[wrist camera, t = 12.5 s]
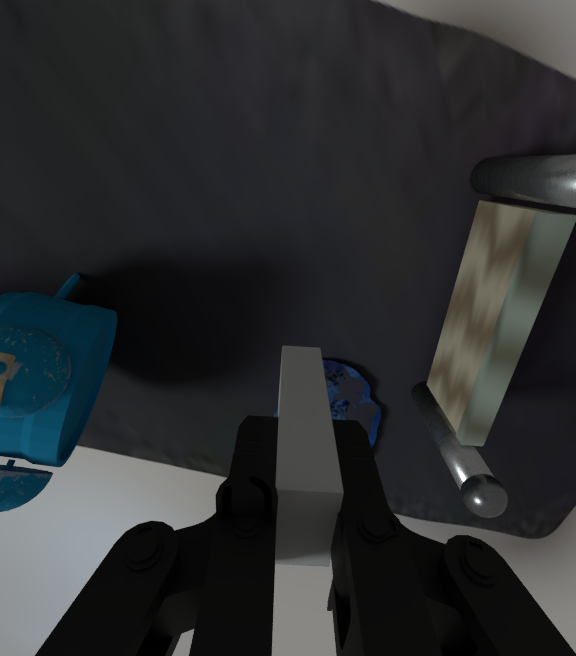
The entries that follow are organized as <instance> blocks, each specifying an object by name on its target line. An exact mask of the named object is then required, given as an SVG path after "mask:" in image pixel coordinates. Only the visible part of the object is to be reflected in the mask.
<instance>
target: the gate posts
mask: <svg viewBox="0 0 576 656" xmlns="http://www.w3.org/2000/svg"><path fill="white" fill-rule="evenodd" d="M470 184H471V187H472V189H473V190H474V191H475V192H477V193H480V194H487V195H493V196H500V197H507V198H513V199H520V200H526V201H533V202H540V203H546V204H553V205H559V206H566V207H573V208H576V155H550V156H522V157H494V158H486V159H483V160H482V161H480V162H479V163H478V164H477V165H476V166H475V167H474V169H473V170H472V173H471V176H470ZM411 396H412V398H413V400H414V402H415V404H416V406H417V408H418V410H419V412H420V414H421V416H422V417H423V419H424V421H425V423H426V425H427V427H428V429H429V431H430V433H431V435H432V437H433V439H434V440H435V442H436V444H437V446H438V448H439V450H440V452H441V454H442V456H443V458H444V460H445V462H446V464H447V465H448V467H449V469H450V471H451V473H452V475H453V477H454V479H455V481H456V483H457V485H458V487H459V488H460V490H461V496H462V499H463V501H464V503H465V505H466V506H467V507H468V508H469V509H470V510H471V511H472V512H473V513H475V514H477V515H479V516H482V517H486V518H492V517H496V516H499V515H500V514H501V513H503V512H504V510H505V509H506V506H507V493H506V491H505V489H504V487H503V485H502V484H501V483H500V482H499V481H498V480H497V479H496V478H494V476H493V475H492V473H491V471H490V470H489V468H488V467H487V465H486V464H485V462H484V461H483V459H482V458H481V456H480V455H479V453H478V452H477V450H476V448H475V447H474V446H472V445H461V444H460V442H459V440H458V439H457V437H456V431H455V430H454V428H453V426H452V425H451V423H450V422H449V420H448V418H447V417H446V415H445V413H444V412H443V410H442V409H441V407H440V405H439V404H438V402H437V401H436V399H435V397H434V396H433V394H432V392H431V391H430V389H429V388H428V386H427V382H421V383H419V384H417V385H415V386H414V387H413V389H412V391H411Z"/></svg>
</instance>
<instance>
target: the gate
mask: <svg viewBox="0 0 576 656" xmlns="http://www.w3.org/2000/svg"><path fill="white" fill-rule="evenodd" d="M575 222H576V215H572V214H566V213H558V212H553V211H547V210H541V209H536V208H530V207H525V206H519V205H513V204H508V203H502V202H497V201H483V200H479V203H478V207H477V210H476V214H475V217H474V221H473V224H472V228H471V231H470V235H469V238H468V242H467V245H466V249H465V252H464V256H463V259H462V263H461V266H460V270H459V273H458V277H457V280H456V284H455V287H454V291H453V294H452V297H451V301H450V304H449V308H448V311H447V315H446V318H445V322H444V325H443V329H442V332H441V336H440V339H439V343H438V346H437V350H436V353H435V357H434V360H433V364H432V367H431V371H430V374H429V378H428V381H427V386H428V388H429V389H430V391H431V392H432V394H433V396H434V397H435V399H436V401H437V402H438V404H439V405H440V407H441V409H442V410H443V412H444V413H445V415H446V417H447V418H448V420H449V422H450V423H451V425H452V426H453V428H454V430H455V431H456V437H457V439H458V440H459V442H460V444H461V445H472V446H483V445H484V443H485V440H486V438H487V435H488V433H489V431H490V428H491V426H492V423H493V421H494V418H495V416H496V414H497V411H498V409H499V406H500V404H501V402H502V399H503V397H504V394H505V392H506V389H507V387H508V385H509V382H510V380H511V377H512V375H513V372H514V370H515V368H516V365H517V363H518V360H519V358H520V355H521V353H522V351H523V348H524V346H525V343H526V341H527V338H528V336H529V334H530V331H531V329H532V326H533V324H534V321H535V319H536V317H537V314H538V312H539V309H540V307H541V304H542V302H543V300H544V297H545V295H546V292H547V290H548V287H549V285H550V283H551V280H552V278H553V275H554V273H555V270H556V268H557V266H558V263H559V261H560V258H561V256H562V253H563V251H564V249H565V246H566V244H567V241H568V239H569V236H570V234H571V232H572V229H573V227H574V224H575Z"/></svg>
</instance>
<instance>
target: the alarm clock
mask: <svg viewBox="0 0 576 656" xmlns="http://www.w3.org/2000/svg"><path fill="white" fill-rule="evenodd" d="M79 278H80V276H79V275H78V274H74V275H73V276H72V277H71V278H69V279H68V280H67V282H66V283H65V284H64V285H63V286H62V288H61V289H60V290H59V291H58V293H57V294H56V295H55V296H54V297H52V296H48V295H44V294H40V293H36V292H26V293H19V292H8V293H4V294H2V295H0V456H4V457H12V458H20V459H25V460H27V461H29V462H30V463H32V464H39V465H46V466H54V467H61V466H63V465H64V464H65V463H66V461H67V460H68V459H69V457H70V455H71V454H72V452H73V450H74V449H75V447H76V445H77V443H78V441H79V439H80V437H81V435H82V433H83V430H84V428H85V426H86V424H87V421H88V419H89V417H90V414H91V412H92V409H93V406H94V404H95V401H96V399H97V396H98V393H99V390H100V387H101V384H102V382H103V379H104V375H105V372H106V369H107V366H108V362H109V359H110V355H111V351H112V347H113V343H114V338H115V334H116V327H117V313H116V311H113V310H110V309H106V308H102V307H99V306H95V305H81V304H77V303H74V302H70V301H66V300H64V299H65V298H66V297H67V295H68V294H69V293H70V292H71V290H72V289H73V288H74V286H75V285H76V284H77V282H78V280H79ZM14 463H15V460H9V461H8V463H7V465H0V512H3V511H8V510H11V509H14V508H17V507H19V506H21V505H23V504H25V503H27V502H29V501H30V500H31V499H33V498H34V497H36V496H37V495H38V494H39V493H40V492H41V491H42V490H43V489H44V488H45V486H46V485H47V483H48V482H49V481H50V479H51V476H52V475H53V473H52V472H48V471H43V470H38V469H31V468H24V467H16V466H13V465H14Z"/></svg>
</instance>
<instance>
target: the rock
mask: <svg viewBox="0 0 576 656" xmlns="http://www.w3.org/2000/svg"><path fill="white" fill-rule="evenodd" d="M322 362H323V368H324V374H325V380H326V387H327V393H328V399H329V405H330V411H331V417H332V419H337V420H341V418H342V416H343V414H342V413H343V412H344V413H345V414H346V409H347V406H348V405H349V403H348V402H347V401H346V400H345V398H344V399H342V400H341V401H340V402H338V400H333V399H334V398H335V396H336V395H337V394H339V393H340V391H339V392H337V390H336V389H337V385H338V378H341V377H342V375H343V374H342V369H344V368H345V369H347V370H348V371H349V373H350V375H351V376H352V377H354V378H358V379H363V380H365V379H364V378H363V377H362V376H360V374H359V373H358V372H357V371H356V370H354V369H353V368H350V367H348V366H347V365H344V364H340V363H337V362H334V361H330V360H328V361H326V360H322ZM344 379H346V378H344ZM335 380H336V381H335ZM365 381H366V380H365ZM333 383H334V384H333ZM357 394H359V393H357ZM369 395H370V386H369V384H368V383H367V381H366V386H365V387H364V390H363V392H362V398H361V399H360V401H359V402H360V403H364V402H368V403H375V402H374V401H372V400H371V398H370V396H369ZM352 404H353V406H354V409H356V408H357V404H355V403H352ZM377 405H378V404H377ZM378 409H379V412H378V413H377V414H376V415H375V416H374V417H373V418H372V420H373V423H372V424H371V429H372V432H371V433H370V435H369V441H370V444H371V448H372V446H373V445H374V443H375V438H376V436H377V427H378V425H379V423H380V420H381V411H380V408H379V406H378ZM273 417H278V411H277V412H276V413H275V414H274V415H273ZM342 420H347V418H346V416H343V418H342Z"/></svg>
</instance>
